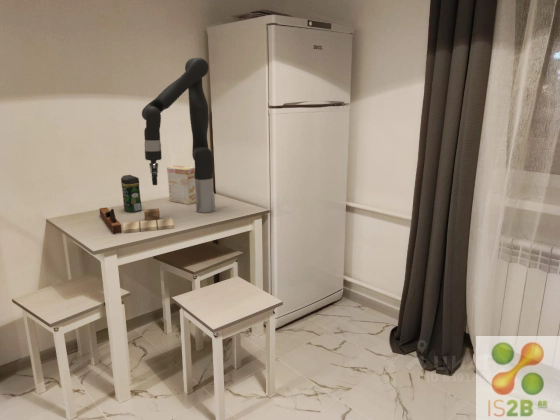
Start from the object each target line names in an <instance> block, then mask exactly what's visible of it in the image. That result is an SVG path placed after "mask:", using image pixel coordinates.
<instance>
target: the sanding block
mask: <svg viewBox="0 0 560 420" xmlns="http://www.w3.org/2000/svg"><path fill="white" fill-rule="evenodd" d="M143 212H144V213H143V214H144V221H150V220H160V219H161V217H160V216H161V215H160V208H149V209H148V208H147V209H143Z"/></svg>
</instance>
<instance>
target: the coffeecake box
mask: <svg viewBox="0 0 560 420" xmlns="http://www.w3.org/2000/svg"><path fill="white" fill-rule="evenodd" d="M166 169H167V171H166V172H167V173H166V174H167V183H168V194H169V195H168V197H169V198H168V199H169V202H174V203H179V204H185V205H190V204H194V203H195V204H196V194H195V177H194V173H195V167H190V166H184V165H183V166H181V165H171V166H166Z"/></svg>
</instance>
